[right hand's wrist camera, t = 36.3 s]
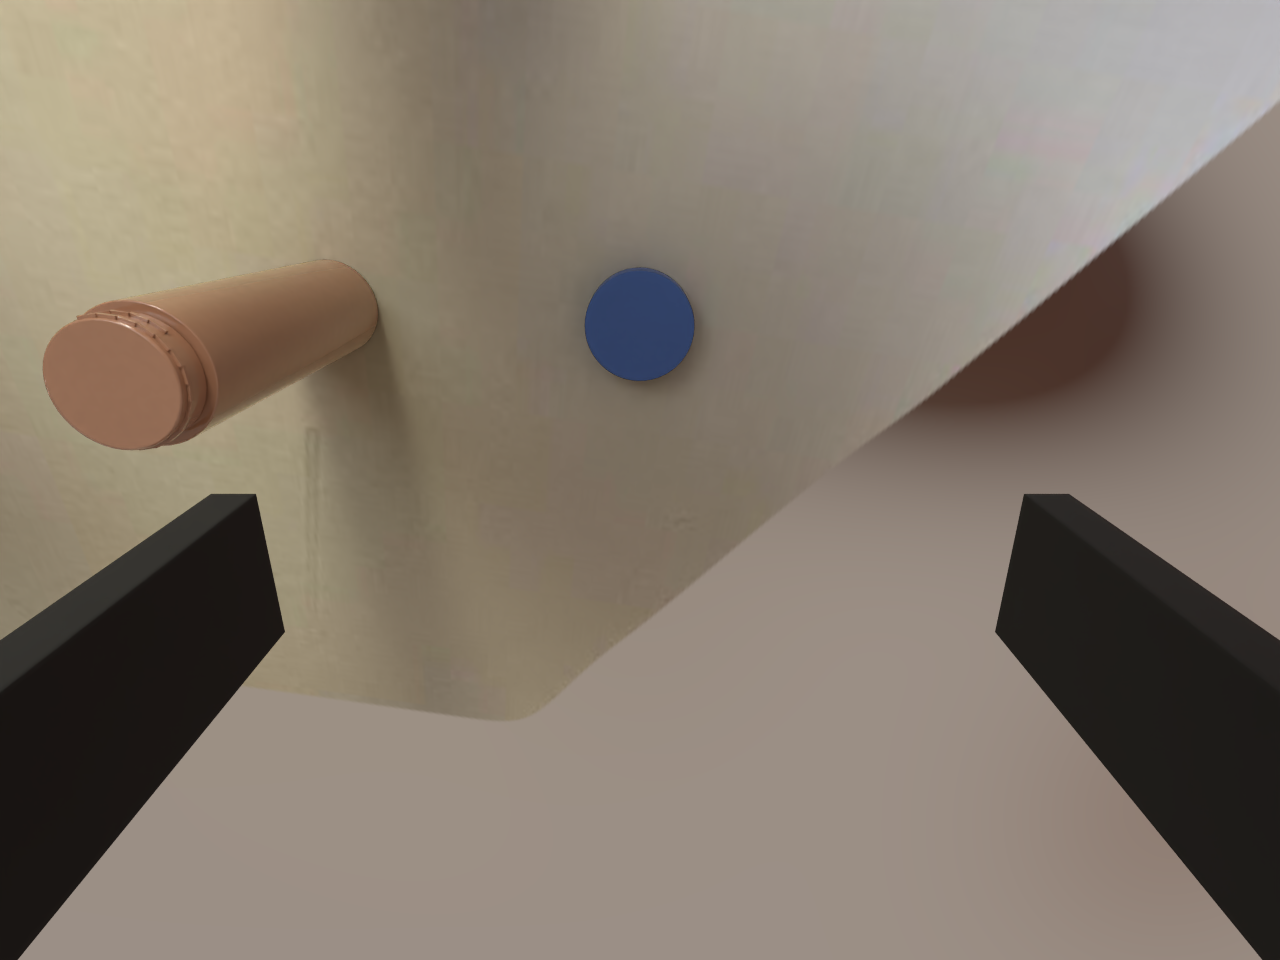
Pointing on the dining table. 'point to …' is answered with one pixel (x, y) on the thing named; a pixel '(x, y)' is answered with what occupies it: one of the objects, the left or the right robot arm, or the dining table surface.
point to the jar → (202, 351)
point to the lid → (639, 324)
